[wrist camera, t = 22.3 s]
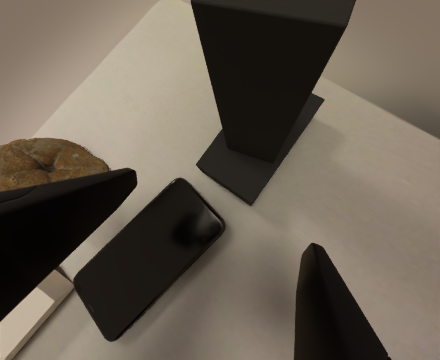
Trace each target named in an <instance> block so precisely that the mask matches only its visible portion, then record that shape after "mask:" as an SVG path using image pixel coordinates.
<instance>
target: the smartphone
mask: <svg viewBox="0 0 440 360" xmlns="http://www.w3.org/2000/svg"><path fill="white" fill-rule="evenodd" d="M224 231H225V222H224V220H223V219H222V218H221V217H220V215H219V214H218V213H217V212H216V211H215V210H214V209H213V208H212V207H211V206H210V205H209V204H208V203H207V202H206V201H205V200H204V199H203V198H202V196H201V195H200V194H199V193H198V192H197V191H196V190H195V189H194V188H193V187H192V186H191V185H190V184H189V183H188V182H187V181H186V180H185V179H183V178H176V179H174V180H173V181H172V182H171V183H170V184H169V185H168V186H166V187H165V188H164V189H163V190H162V191H161V192H160V193H159V194H158V195H157V196H156V197H155V198H154V199H153V200H152V201H151V202H150V203H149V204H148V205H147V206H146V207H145V208H144V209H143V210H142V211H141V212H140V213H139V214H138V215H137V216H136V217H135V218H133V219H132V220H131V221H130V222H129V223H128V224H127V225H126V226H125V227H124V228H123V229H122V230H121V231H120V232H119V233H118V234H117V235H116V236H115V237H114V238H113V239H112V240H111V241H110V242H109V243H107V244H106V245H105V246H104V247H103V248H102V249H101V250H100V251H99V252H98V253H97V254H96V255H95V256H94V257H93V258H92V259H91V260H90V261H89V262H88V263H87V264H86V265H85V266H84V267H83V268H82V269H81V270H80V271H79V272H78V273H77V274H76V276H75V277H74V280H73V285H74V288H75V290H76V292H77V293H78V295H79V297H80V298H81V300H82V302H83V303H84V305H85V307H86V308H87V310H88V312H89V313H90V315H91V317H92V318H93V320H94V322H95V323H96V325H97V327H98V328H99V330H100V332H101V333H102V335H103V336H104V338H105V339H106V340H107V341H110V342H113V341H116V340H118V339H119V338H120V337H121V336H122V335H123V334H124V333H125V332H126V331H127V330H128V329H130V328H131V327H132V326H133V324H134V323H135V322H136V321H137V320H139V319H140V318H141V317H142V316H143V315H144V314H145V313H146V311H147V310H149V308H150V307H151V306H152V305H153V304H154V303H155V302H156V301H157V300H158V299H159V298H160V297H161V296H162V295H163V294H164V293H165V292H166V291H167V290H168V289H169V288H170V287H171V286H172V285H173V284H174V283H175V282H176V281H177V280H178V279H179V278H180V277H181V276H182V275H183V274H184V273H185V272H186V271H187V270H188V269H189V268H190V267H191V266H192V265H193V263H194V262H195V261H196V260H197V259H198V258H199V257H200V256H201V255H202V254H203V253H204V252H205V251H206V250H207V249H208V248H209V247H210V246H211V245H212V244H213V243H214V242H215V241H216V240H217V239H218V238H219V237H220V236H221V235H222V234H223V232H224Z"/></svg>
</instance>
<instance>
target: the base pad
mask: <svg viewBox="0 0 440 360" xmlns="http://www.w3.org/2000/svg"><path fill="white" fill-rule="evenodd" d="M323 102H324V99H323V98H321V97H319V96H317V95H314V94H312V93H311V94H310V96H309V98H308V100H307V102H306V104H305V106H304V107H303V109H302V111H301V113H300V115H299V117H298V119H297V120H296V122H295V124H294V126H293V128H292V130H291V132H290V134H289V135H288V137H287V139H286V141H285V143H284V145H283V147H282V148H281V150H280V152H279V154H278V156H277V158H276V160H275V161H274V163H270V162H267V161H264V160H261V159H258V158H255V157H252V156H249V155H246V154H243V153H240V152H237V151H234V150H231V149H228V148H227V144H226V140H225V136H224V132H223V129H222V130H221V131H220V133H219V134H218V135H217V137H216V138H215V139H214V141H213V142H212V143H211V145H210V146H209V147H208V149H207V150H206V151H205V153H204V154H203V156H202V157H201V158H200V160H199V161H198V162H197V164H196V166H197V167H198V168H199V169H200V170H201V171H202V172H203V173H204V174H206V175H207V176H209V177H210V178H212V179H213V180H214V181H216V182H217V183H219V184H220V185H222V186H223V187H224V188H226V189H227V190H229V191H230V192H232V193H233V194H235V195H236V196H237V197H239V198H240V199H242V200H243V201H245V202H246V203H247V204H249V205H250V206H252V204H253V203H254V201H255V200H256V198H257V197H258V196H259V194H260V193H261V191H262V190H263V188H264V187H265V185H266V184H267V183H268V181H269V180H270V178H271V177H272V175H273V174H274V172H275V171H276V170H277V168H278V167H279V165H280V164H281V162H282V161H283V159H284V158H285V157H286V155H287V154H288V152H289V151H290V149H291V148H292V146H293V145H294V144H295V142H296V141H297V139H298V138H299V136H300V135H301V134H302V132H303V131H304V129H305V128H306V126H307V125H308V123H309V122H310V121H311V119H312V118H313V116H314V115H315V113H316V112H317V110H318V109H319V107H320V106H321V104H322V103H323Z"/></svg>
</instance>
